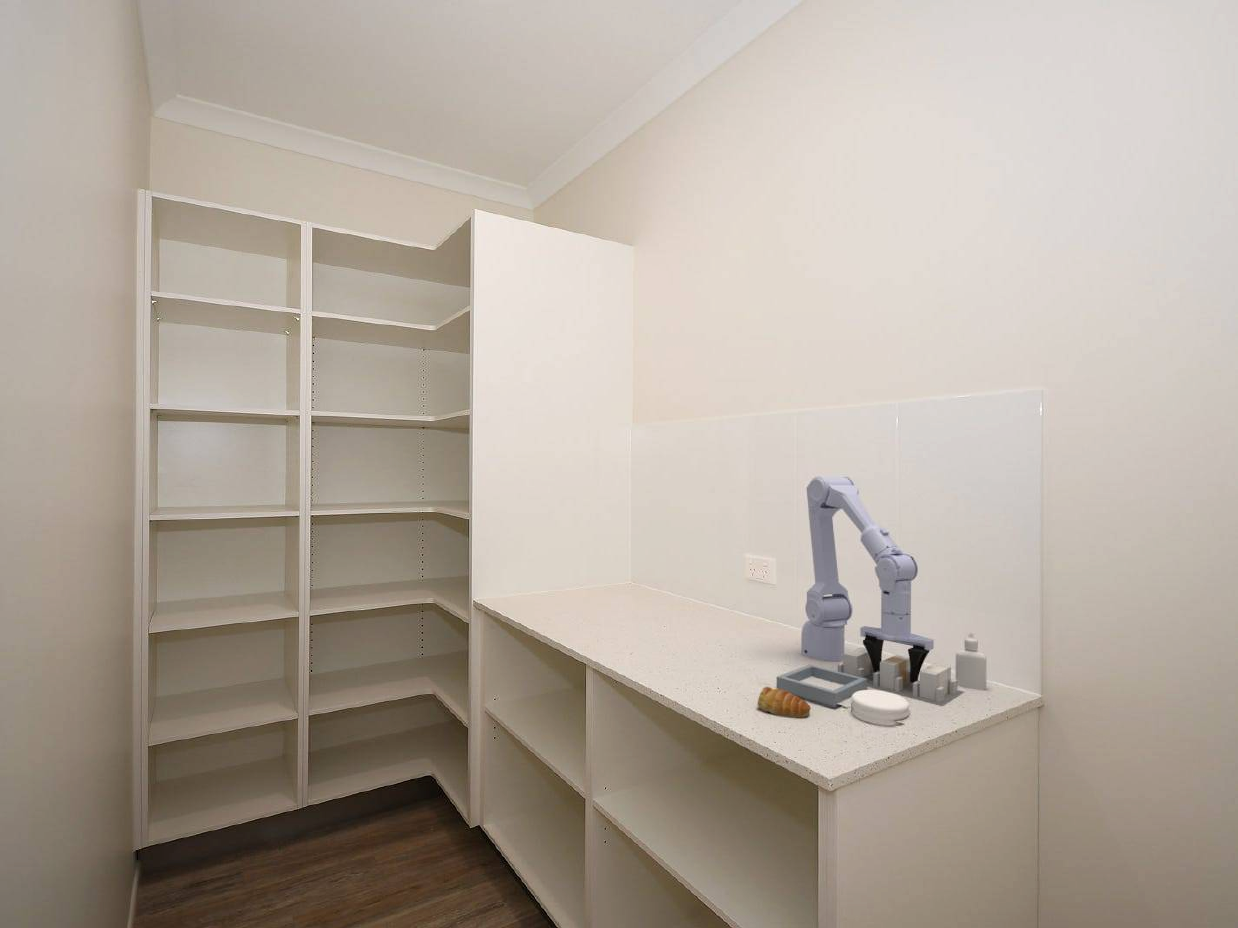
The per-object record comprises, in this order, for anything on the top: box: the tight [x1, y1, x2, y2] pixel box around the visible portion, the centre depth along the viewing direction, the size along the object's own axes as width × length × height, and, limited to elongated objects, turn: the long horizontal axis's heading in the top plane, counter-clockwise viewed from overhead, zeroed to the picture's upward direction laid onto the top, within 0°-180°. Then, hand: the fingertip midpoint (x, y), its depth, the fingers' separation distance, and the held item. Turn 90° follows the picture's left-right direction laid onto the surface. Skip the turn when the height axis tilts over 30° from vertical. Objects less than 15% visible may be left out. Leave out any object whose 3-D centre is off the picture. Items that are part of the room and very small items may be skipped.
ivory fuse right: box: [919, 663, 952, 701], centre depth 127 cm, size 3×8×5 cm, turn 133°
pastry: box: [756, 686, 812, 719], centre depth 120 cm, size 9×7×4 cm
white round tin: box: [850, 689, 911, 727], centre depth 118 cm, size 10×10×4 cm
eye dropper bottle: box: [955, 632, 988, 691], centre depth 132 cm, size 4×6×12 cm
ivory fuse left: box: [842, 646, 872, 676], centre depth 139 cm, size 3×8×5 cm, turn 133°
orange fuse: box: [880, 654, 910, 690], centre depth 133 cm, size 3×8×5 cm, turn 133°
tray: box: [776, 664, 868, 710], centre depth 130 cm, size 13×13×3 cm
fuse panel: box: [836, 662, 965, 707], centre depth 133 cm, size 23×12×4 cm, turn 43°
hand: (895, 677), depth 133 cm, fingers open, 7 cm apart
